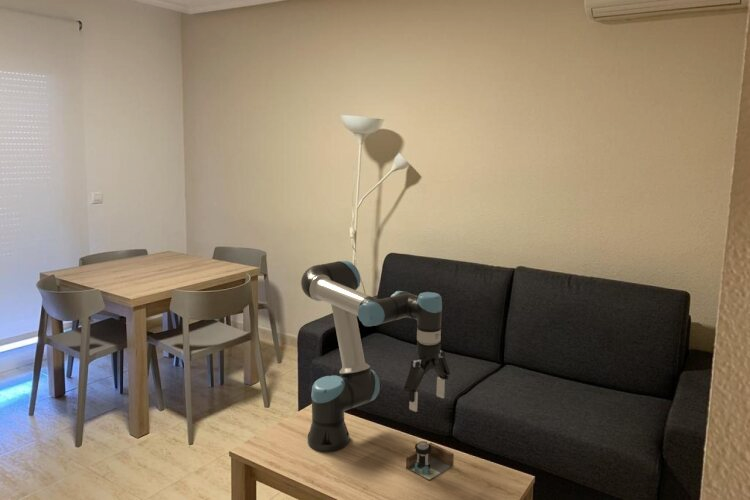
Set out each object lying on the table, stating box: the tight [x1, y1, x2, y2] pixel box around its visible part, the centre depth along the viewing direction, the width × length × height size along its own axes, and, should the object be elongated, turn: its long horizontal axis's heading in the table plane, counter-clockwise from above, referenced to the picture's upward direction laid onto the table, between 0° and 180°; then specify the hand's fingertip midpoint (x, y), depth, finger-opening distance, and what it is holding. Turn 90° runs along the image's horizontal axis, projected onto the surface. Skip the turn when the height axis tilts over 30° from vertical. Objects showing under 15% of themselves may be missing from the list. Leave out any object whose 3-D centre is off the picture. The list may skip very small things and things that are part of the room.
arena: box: [405, 442, 455, 482], centre depth 201 cm, size 10×13×4 cm
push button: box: [414, 440, 434, 474], centre depth 196 cm, size 7×5×10 cm
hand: (427, 403), depth 193 cm, fingers open, 13 cm apart
